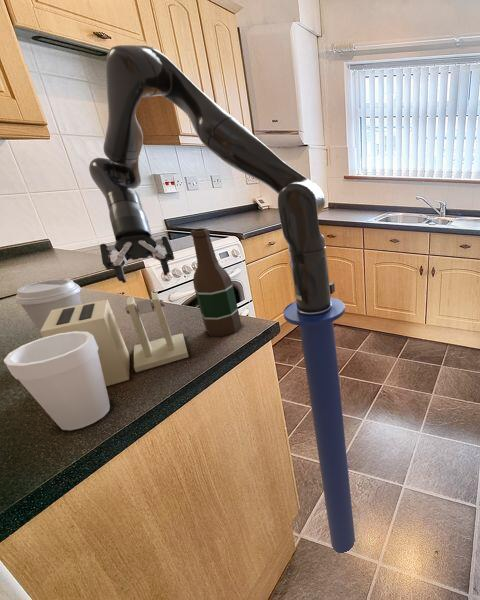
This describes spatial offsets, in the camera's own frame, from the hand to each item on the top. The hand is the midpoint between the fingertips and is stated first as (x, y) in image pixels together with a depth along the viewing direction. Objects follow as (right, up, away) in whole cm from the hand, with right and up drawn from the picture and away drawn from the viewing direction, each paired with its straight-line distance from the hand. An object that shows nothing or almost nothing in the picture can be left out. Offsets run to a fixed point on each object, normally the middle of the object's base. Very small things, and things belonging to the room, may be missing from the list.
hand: (145, 277), depth 83 cm
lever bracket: (+12, -17, -12) cm, 24 cm away
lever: (+10, -8, -12) cm, 17 cm away
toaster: (+6, -20, -18) cm, 28 cm away
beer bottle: (+21, -13, -2) cm, 24 cm away
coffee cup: (-8, -16, -10) cm, 21 cm away
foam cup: (+12, -24, -28) cm, 39 cm away
